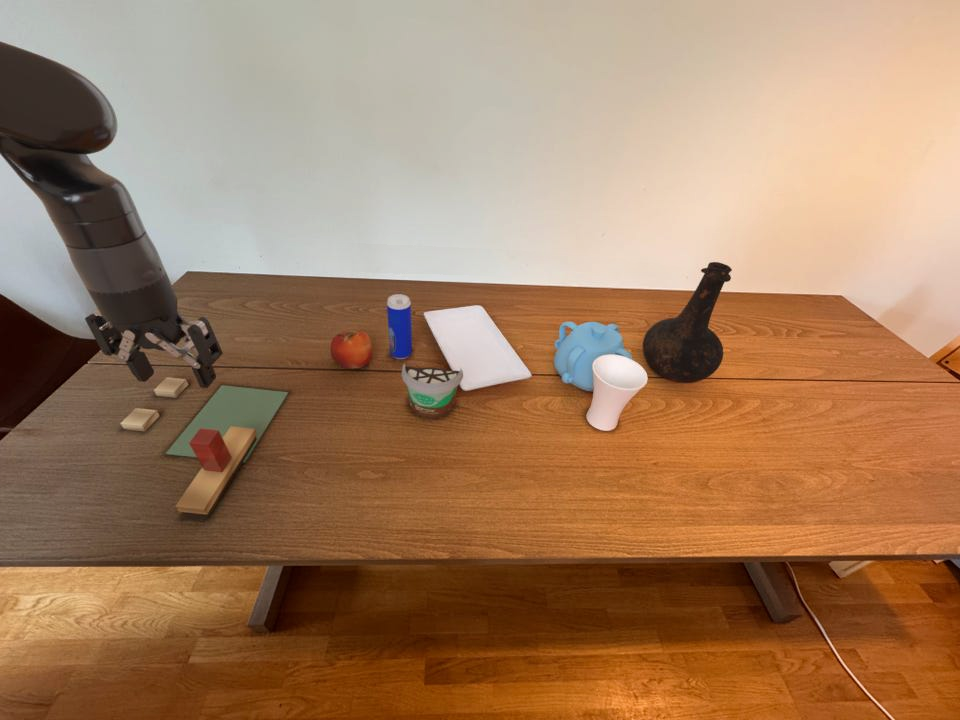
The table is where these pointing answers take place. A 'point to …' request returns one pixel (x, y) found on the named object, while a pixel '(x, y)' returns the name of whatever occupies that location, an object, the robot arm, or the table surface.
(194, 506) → the brush
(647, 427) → the table surface
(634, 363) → the cup
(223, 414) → the mat
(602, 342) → the decorative pot
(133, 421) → the chip
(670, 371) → the glass bottle
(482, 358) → the tray
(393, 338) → the beverage can
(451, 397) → the food container
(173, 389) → the chip
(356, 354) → the tomato
